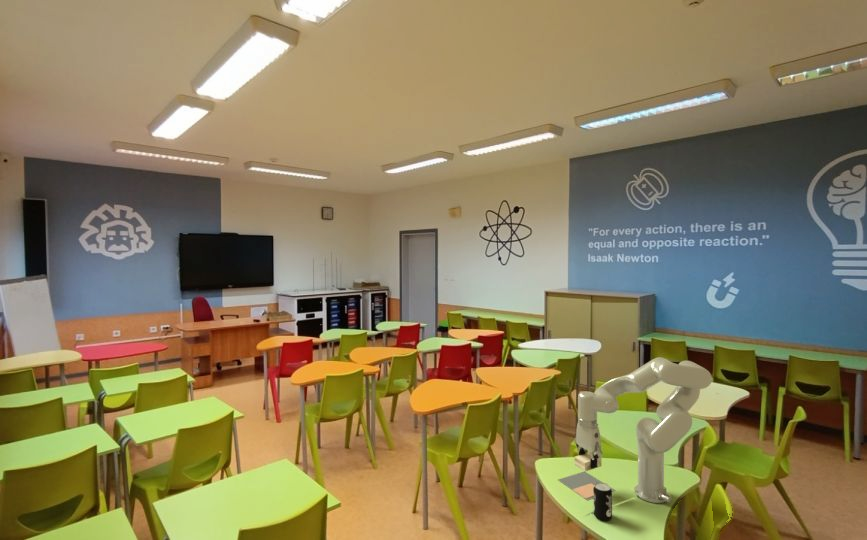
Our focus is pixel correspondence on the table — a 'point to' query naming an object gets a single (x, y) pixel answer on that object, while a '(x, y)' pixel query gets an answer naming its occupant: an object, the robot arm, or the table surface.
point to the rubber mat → (581, 484)
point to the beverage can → (602, 501)
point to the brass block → (586, 461)
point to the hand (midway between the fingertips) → (587, 463)
